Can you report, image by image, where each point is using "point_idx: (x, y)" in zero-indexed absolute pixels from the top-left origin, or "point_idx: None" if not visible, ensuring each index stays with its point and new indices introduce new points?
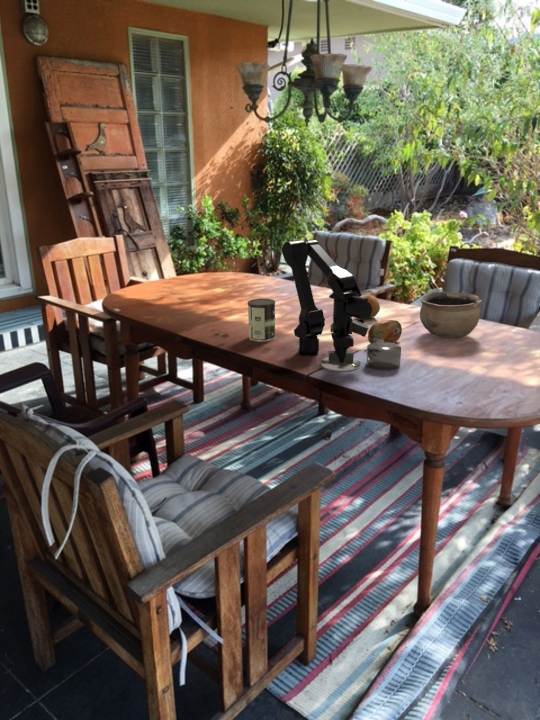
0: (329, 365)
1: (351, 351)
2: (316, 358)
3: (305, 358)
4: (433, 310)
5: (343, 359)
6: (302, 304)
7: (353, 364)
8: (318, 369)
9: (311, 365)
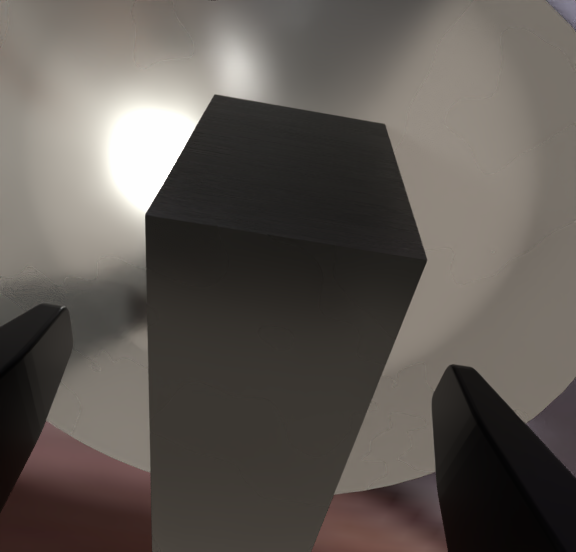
0: (381, 455)
1: (218, 276)
2: (32, 460)
3: (49, 523)
4: None
5: (513, 428)
6: None
7: (456, 138)
8: (391, 504)
9: None
